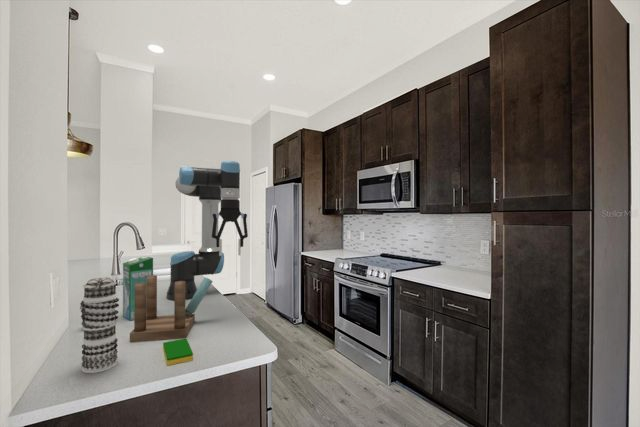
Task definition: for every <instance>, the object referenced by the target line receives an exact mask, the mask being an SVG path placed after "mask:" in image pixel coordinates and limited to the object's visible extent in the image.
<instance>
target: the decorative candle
mask: <svg viewBox="0 0 640 427" xmlns="http://www.w3.org/2000/svg"><path fill="white" fill-rule="evenodd" d="M117 284H118V282H116V281H114V279H113V278H111V277H97V278H96V277H95V278H92V279H89V280H88V281H87V282H86V284H84V285H82V287H83V288H84V292H83V293H84V294H83V295H84V296H83V299H82V301H81V302H80V303H79V304H80V305H81V306H82V307H83V308H82V309H80V313H81V316H80V317H81V320H82V319H83V320H82V322H81V325H82V326H81V329H82V330H83V340H82V341H83V342H82V345H81V348H82V350H81V353H82V357H81V361H82V362H81V367H82V368H81V371H82V372H83V373H85V374H96V373H102V372H104V371H107V370H110V369H112V368H114V367H115V366H116V365H117V364H118V360H117V359H118V352H119V351H118V343H117V342H118V338H117V331H116V329H117V328H116V325H117V324H118V320H117V319H118V318H119V316H118V314H119V311H118V310H117V309H116V308H118V307H120V303H117V302H119V301H120V298H118V297H117V290H116V289H117V287H116V286H117ZM80 305H79V306H80Z"/></svg>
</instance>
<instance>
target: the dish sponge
mask: <svg viewBox="0 0 640 427" xmlns="http://www.w3.org/2000/svg"><path fill="white" fill-rule="evenodd" d="M162 344H163V345H162V350H163V354H164V357H165V358H164V359H165V363H166V366H172V365H176V364H181V363H185V362H191V361H193V360H194V353H193V350H192V348H191V345H190V343H189V341H188V339H187V338H179V339H177V340H176V339H173V340H169V341H166V342H162Z"/></svg>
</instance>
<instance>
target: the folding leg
mask: <svg viewBox="0 0 640 427" xmlns="http://www.w3.org/2000/svg"><path fill="white" fill-rule="evenodd" d="M212 283H213V280H212V279H210V278H208V277H204V278H203V279H202V281H201V283H200V284H199V286H198V288H197V291H196V293H195V294H194V296H193V298H191V299H190V301H189V302H188V304H187V306H186V307H185V309H186V310H187V311H188V312H190V313H192V314H195V312H196V310H197V309H198V307H199V305H200V304H201V302H202V300H203V299H204V297H205V295H206V293H207V292H208V290H209V288H210V287H211V285H212Z"/></svg>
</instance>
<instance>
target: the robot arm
mask: <svg viewBox="0 0 640 427" xmlns="http://www.w3.org/2000/svg"><path fill="white" fill-rule="evenodd" d="M178 171H179V172H178V176H177V179H176V180H175V188H176V189H177V191H178V192H180V193H181V194H183V195H184V196H187V197H188V196H189V197H198V201H199V202H200V203H201V247H200V248H199V249H198V253H195V251H193V250H190V251H189V250H188V251H183V252H179V253H178V252H177V253H174V254H172V255H171V256H170V264H169V265H170V280H169V281H170V283H169V286H168V289H167V292H166V299H167V300H170V301H175V282H176V281H186V283H185V300H191V299H192V298H193V296H194V294H195V293H196V291H197V289H198V288H197V285H196V283H195V276H206V275H213V276H214V275H217V274H221V273H222V272H223V269H224V266H225V265H224V264H225V253H224V252H223V247H222V246H223V243H222V242H223V239H222V238H221V236H222V234H223V231H224V229H225V225H226V224H227V223H229V222H231V223H234V226H235V227H236V230H237V233H238V235H239V238H238V243H237V244H238V246H237V250H238V251H237V252H238V256H241V252H242V249H241V248H242V247H244V239H247V238H248V237H249V236H248V235H249V234H248V225H247V224H248V223H247V217H248V214H247V213H243V212H241V209H240V203H241V202H240V201H241V200H239V199H240V197H241V196H240V195H241V194H240V192H241V188H240V186H241V185H240V184H241V183H240V182H241V181H240V179H241V168H240V163H239V162H238V161H235V160H234V161H233V160H232V161H231V160H223V161H221V162H220V168H212V167H211V168H209V167H208V168H206V167H193V166H181V167H180V168H179V170H178ZM219 204H220V210H219ZM240 216H241V219H242V223H243V224H242V225H243V232H244V234H243V232H242V229H241V227H240V224H239V221H238V219H239V217H240ZM219 217H221V219H222V222H221V224H220V227H219Z"/></svg>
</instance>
